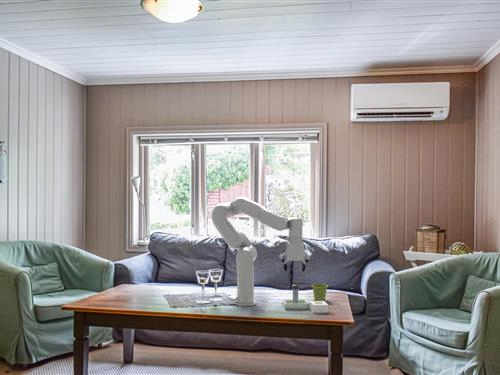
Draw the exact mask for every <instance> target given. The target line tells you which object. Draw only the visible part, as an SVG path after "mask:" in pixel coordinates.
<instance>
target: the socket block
mask: <svg viewBox="0 0 500 375" xmlns="http://www.w3.org/2000/svg"><path fill="white" fill-rule="evenodd" d="M309 310H310V311H311V312H312V313H314V314H321V313H322V314H323V313H324V314H325V313H329V304H328V303H327V302H326V300H325V301H316V300H313V301H312V300H310V301H309Z"/></svg>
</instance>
